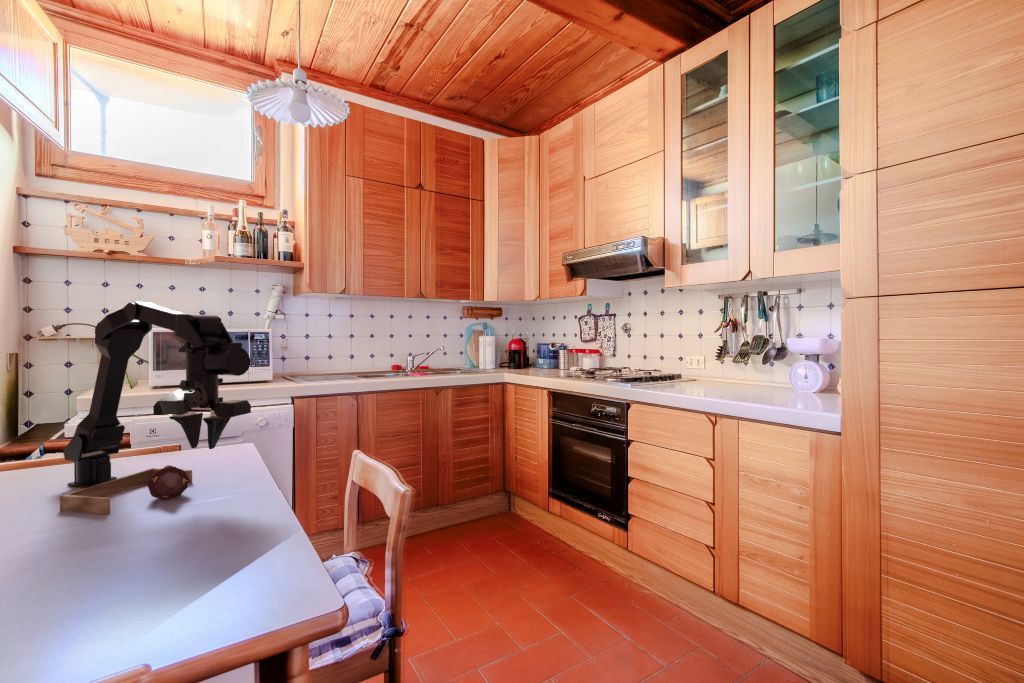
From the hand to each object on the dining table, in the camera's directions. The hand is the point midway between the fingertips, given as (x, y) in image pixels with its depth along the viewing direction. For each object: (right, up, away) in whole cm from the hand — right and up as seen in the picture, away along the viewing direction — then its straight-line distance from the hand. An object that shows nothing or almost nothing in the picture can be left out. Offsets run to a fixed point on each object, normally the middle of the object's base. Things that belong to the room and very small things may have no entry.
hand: (203, 448), depth 101 cm
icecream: (-8, -11, +2) cm, 14 cm away
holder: (-17, -11, +3) cm, 20 cm away
